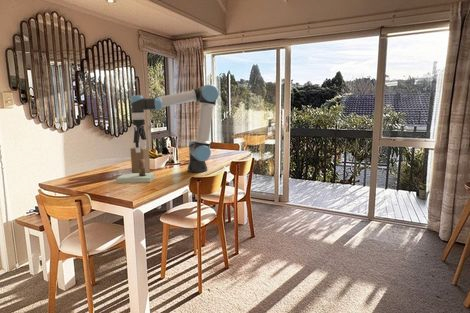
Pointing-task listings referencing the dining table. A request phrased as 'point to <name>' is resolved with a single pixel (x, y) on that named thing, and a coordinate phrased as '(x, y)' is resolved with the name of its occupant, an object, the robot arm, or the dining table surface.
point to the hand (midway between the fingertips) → (141, 150)
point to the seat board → (135, 178)
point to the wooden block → (141, 155)
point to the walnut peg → (141, 167)
